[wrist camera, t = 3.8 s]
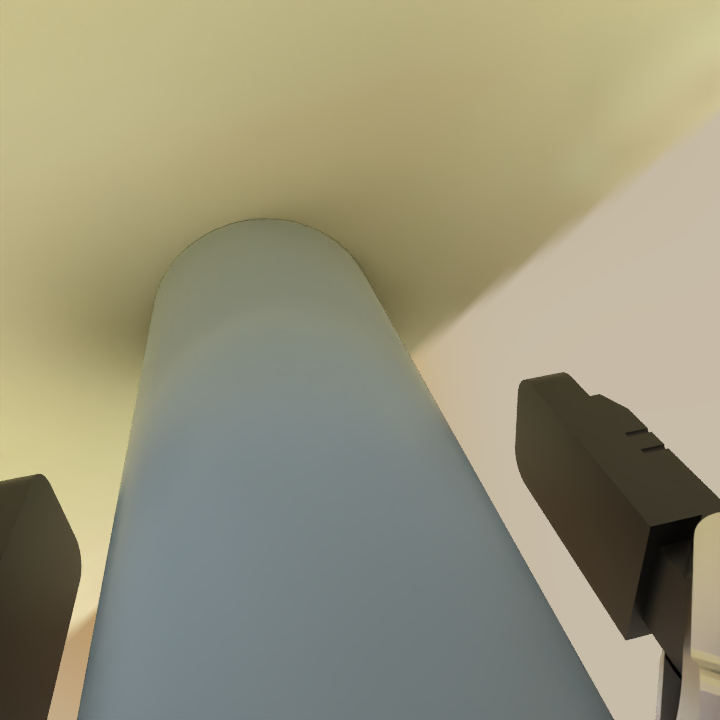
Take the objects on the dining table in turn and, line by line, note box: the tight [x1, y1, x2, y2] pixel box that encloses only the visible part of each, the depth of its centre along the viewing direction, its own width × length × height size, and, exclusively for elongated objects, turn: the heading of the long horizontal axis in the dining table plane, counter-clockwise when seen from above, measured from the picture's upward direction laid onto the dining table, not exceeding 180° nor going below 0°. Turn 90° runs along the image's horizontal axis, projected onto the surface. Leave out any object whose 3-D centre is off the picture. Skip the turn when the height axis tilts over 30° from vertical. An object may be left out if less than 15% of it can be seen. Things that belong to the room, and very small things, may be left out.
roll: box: [77, 219, 614, 720], centre depth 10 cm, size 5×5×11 cm
